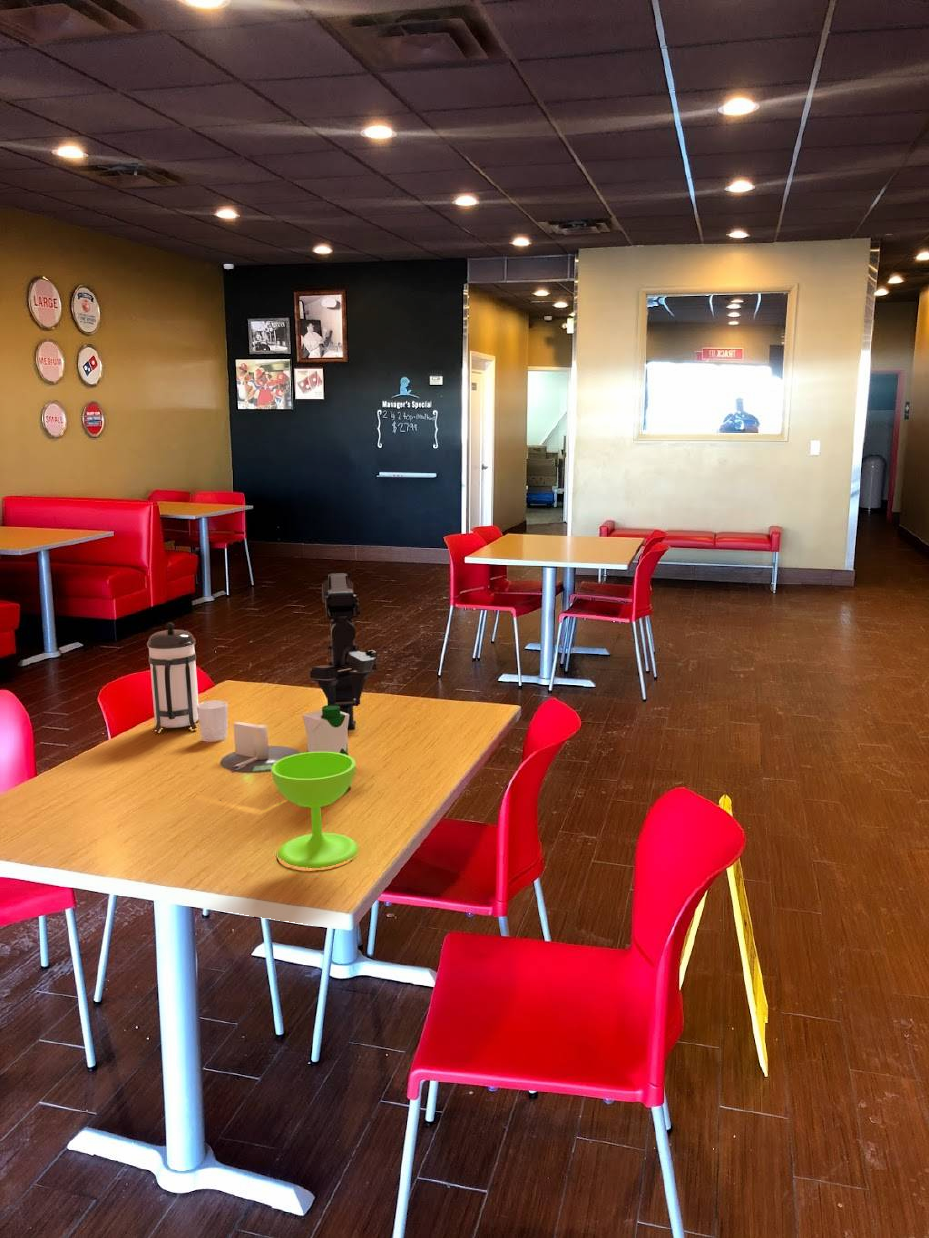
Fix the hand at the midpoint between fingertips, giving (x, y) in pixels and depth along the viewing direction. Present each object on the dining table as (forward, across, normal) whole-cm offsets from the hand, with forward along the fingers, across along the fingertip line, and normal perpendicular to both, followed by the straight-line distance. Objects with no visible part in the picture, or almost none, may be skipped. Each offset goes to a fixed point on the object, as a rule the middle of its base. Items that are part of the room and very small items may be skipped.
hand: (345, 702), depth 240 cm
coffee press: (+10, -8, +56) cm, 58 cm away
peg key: (+13, -19, +19) cm, 29 cm away
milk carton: (+16, -19, -11) cm, 27 cm away
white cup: (+12, -9, +40) cm, 42 cm away
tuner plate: (+14, -14, +16) cm, 25 cm away
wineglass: (+20, -45, -33) cm, 59 cm away
